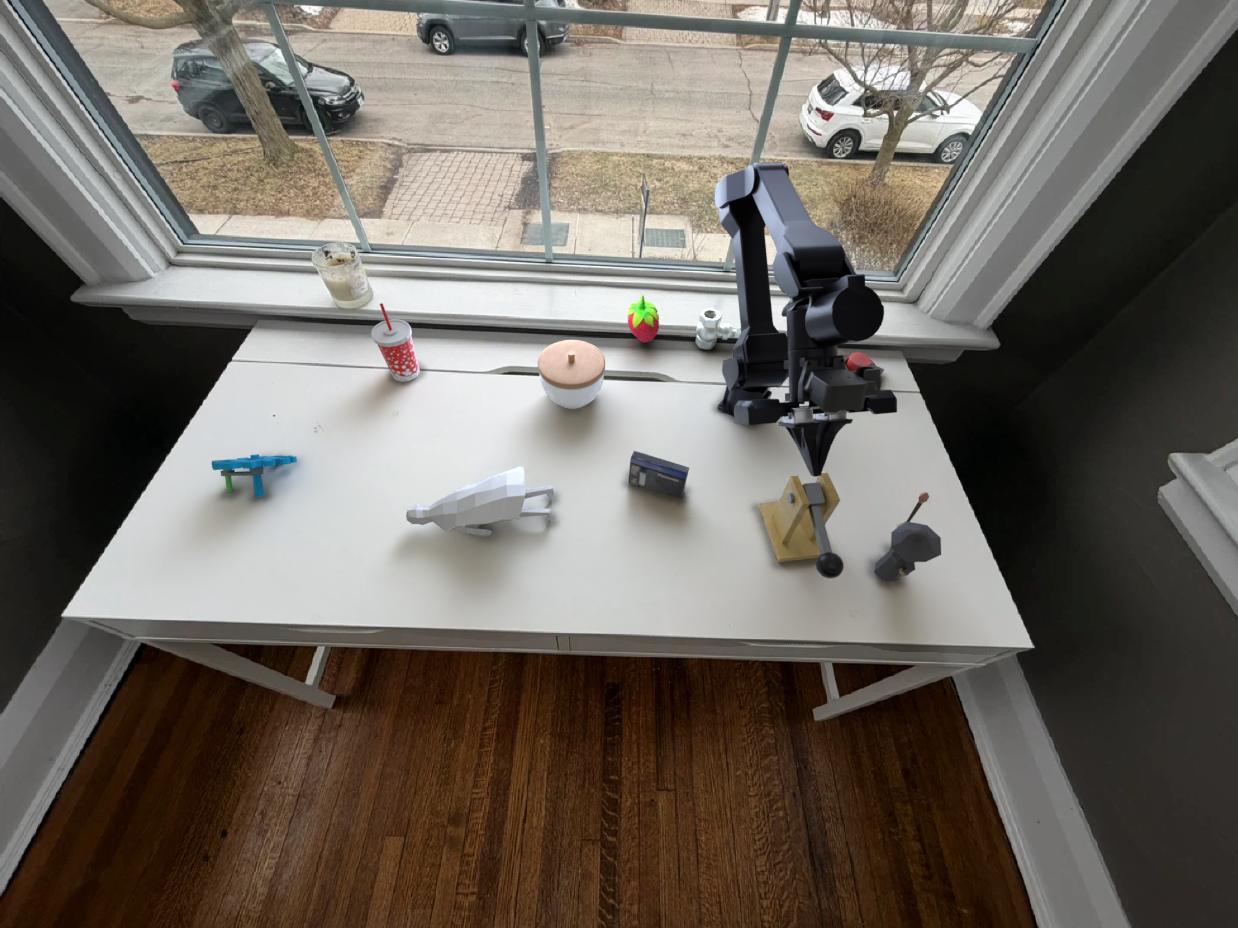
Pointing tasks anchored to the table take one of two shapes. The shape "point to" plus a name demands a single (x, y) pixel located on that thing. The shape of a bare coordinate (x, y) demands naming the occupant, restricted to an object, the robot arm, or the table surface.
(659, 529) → the table surface
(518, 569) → the table surface
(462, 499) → the superhero figure
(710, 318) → the valve
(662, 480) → the mini dv tape
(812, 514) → the tap lever
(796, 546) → the bracket
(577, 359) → the trinket box
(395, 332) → the beverage cup
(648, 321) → the strawberry
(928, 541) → the wizard figurine
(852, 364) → the stop button
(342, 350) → the table surface
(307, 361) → the table surface
